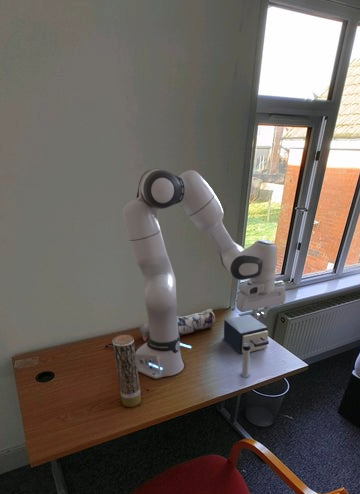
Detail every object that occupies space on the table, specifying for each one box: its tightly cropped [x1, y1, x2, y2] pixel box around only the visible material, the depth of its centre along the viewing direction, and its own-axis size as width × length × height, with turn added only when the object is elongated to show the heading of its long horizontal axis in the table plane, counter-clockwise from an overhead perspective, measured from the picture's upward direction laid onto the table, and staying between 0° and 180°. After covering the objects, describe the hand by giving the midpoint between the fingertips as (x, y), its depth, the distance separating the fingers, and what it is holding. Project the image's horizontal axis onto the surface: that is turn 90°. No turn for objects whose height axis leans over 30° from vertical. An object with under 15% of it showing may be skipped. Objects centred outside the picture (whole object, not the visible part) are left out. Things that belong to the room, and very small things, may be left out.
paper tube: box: [112, 334, 142, 408], centre depth 120 cm, size 7×7×25 cm
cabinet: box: [223, 313, 268, 355], centre depth 157 cm, size 15×13×10 cm
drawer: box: [241, 329, 270, 354], centre depth 153 cm, size 19×12×8 cm, turn 21°
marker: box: [241, 343, 251, 378], centre depth 134 cm, size 3×3×14 cm
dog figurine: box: [139, 322, 150, 341], centre depth 165 cm, size 5×13×11 cm, turn 92°
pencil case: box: [177, 308, 216, 337], centre depth 169 cm, size 22×8×10 cm, turn 117°
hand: (260, 317), depth 142 cm, fingers closed
